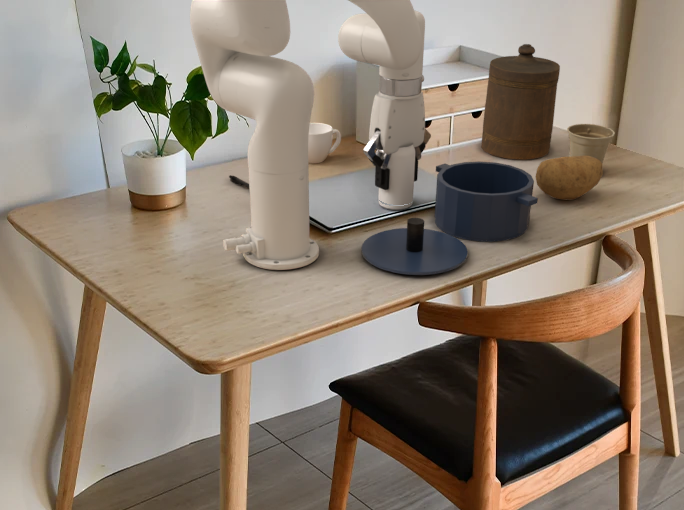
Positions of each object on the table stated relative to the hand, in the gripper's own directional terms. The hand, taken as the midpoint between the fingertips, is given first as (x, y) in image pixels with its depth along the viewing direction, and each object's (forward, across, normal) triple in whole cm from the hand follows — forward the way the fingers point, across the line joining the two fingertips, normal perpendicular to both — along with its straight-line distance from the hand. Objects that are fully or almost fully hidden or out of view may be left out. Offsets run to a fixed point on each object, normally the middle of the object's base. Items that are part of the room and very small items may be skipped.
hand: (396, 182), depth 171 cm
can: (+4, 0, 0) cm, 4 cm away
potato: (+4, -29, +18) cm, 34 cm away
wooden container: (+4, -43, -7) cm, 43 cm away
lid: (+4, +13, +18) cm, 23 cm away
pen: (+4, +17, -23) cm, 29 cm away
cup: (+4, -5, -29) cm, 30 cm away
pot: (+4, -6, +16) cm, 18 cm away
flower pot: (+4, -43, +11) cm, 44 cm away
